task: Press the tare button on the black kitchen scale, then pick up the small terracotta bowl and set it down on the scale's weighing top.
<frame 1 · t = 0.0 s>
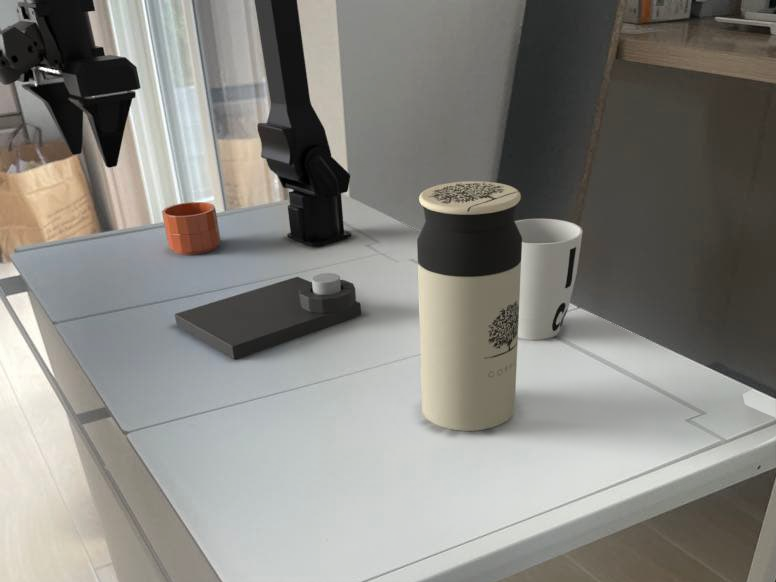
hand: (93, 160, 91), 15 cm above the table, tool pointing down, fingers open, 9 cm apart
scale: (269, 320, 91), on the table
tare button: (326, 284, 89), point 3 cm above the table, slide at 0.1 cm
cup: (533, 331, 86), on the table
travel mug: (468, 413, 73), on the table
bowl: (195, 247, 112), on the table
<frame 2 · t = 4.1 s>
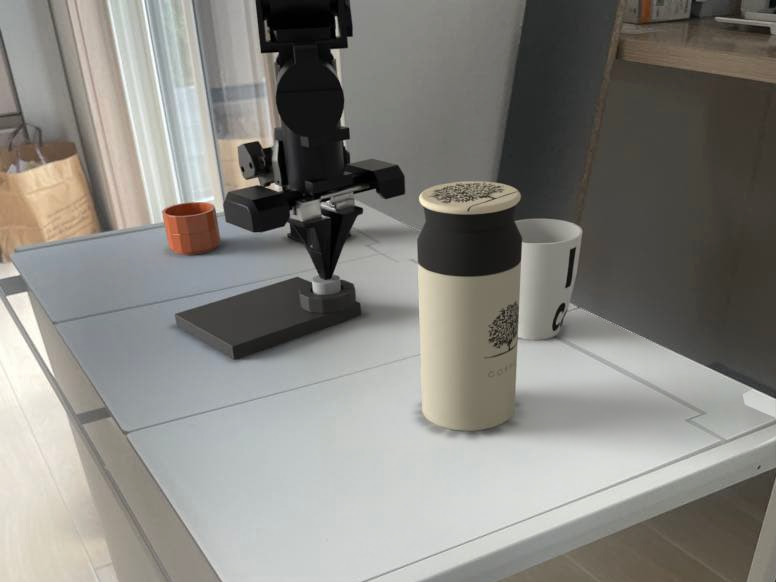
hand: (325, 278, 89), 4 cm above the table, tool pointing down, fingers closed, pressing on tare button
tare button: (326, 285, 89), point 3 cm above the table, slide at 0.0 cm, touching gripper
everything else where it was.
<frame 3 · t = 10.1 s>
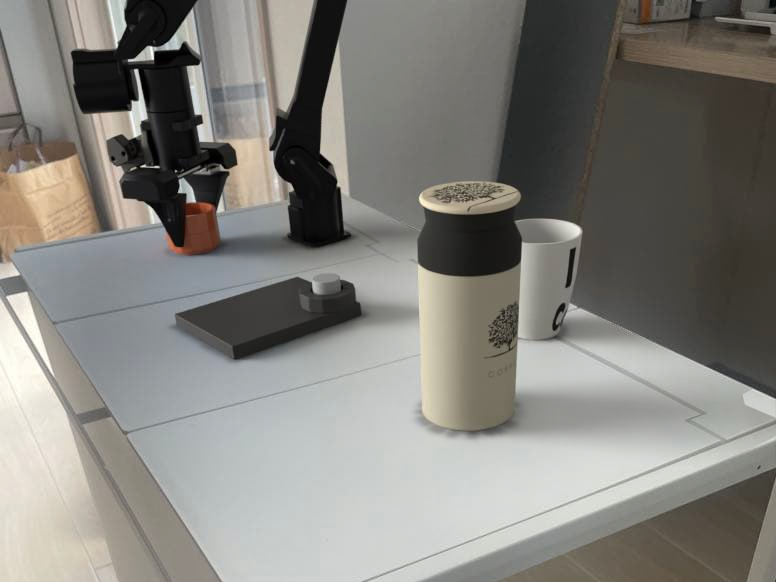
hand: (194, 238, 112), 1 cm above the table, tool pointing down, fingers closed on bowl, 7 cm apart
tare button: (326, 284, 89), point 3 cm above the table, slide at 0.1 cm
bowl: (195, 247, 112), on the table, touching gripper
everything else where it was.
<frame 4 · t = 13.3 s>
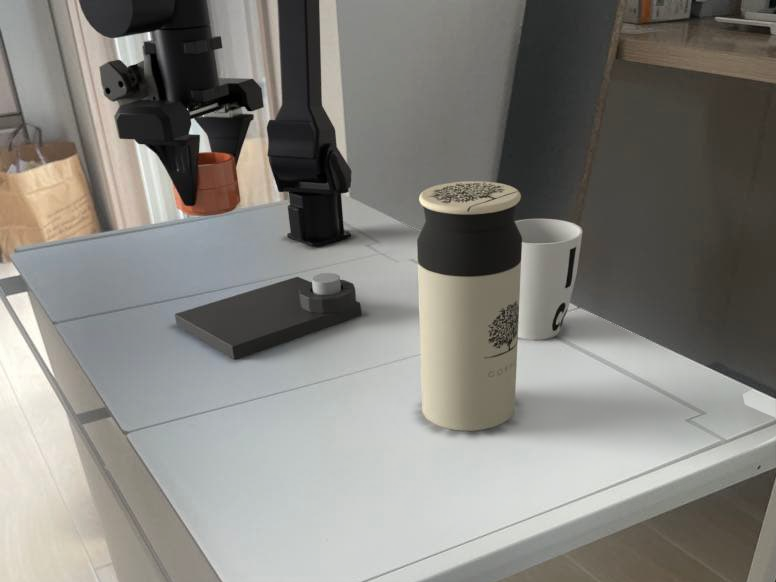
hand: (208, 196, 90), 11 cm above the table, tool pointing down, fingers closed on bowl, 7 cm apart
bowl: (209, 208, 91), point 10 cm above the table, touching gripper
everything else where it was.
when the fingers open (3 cm above the table, at t = 16.6 s): bowl stays where it is, resting on scale.
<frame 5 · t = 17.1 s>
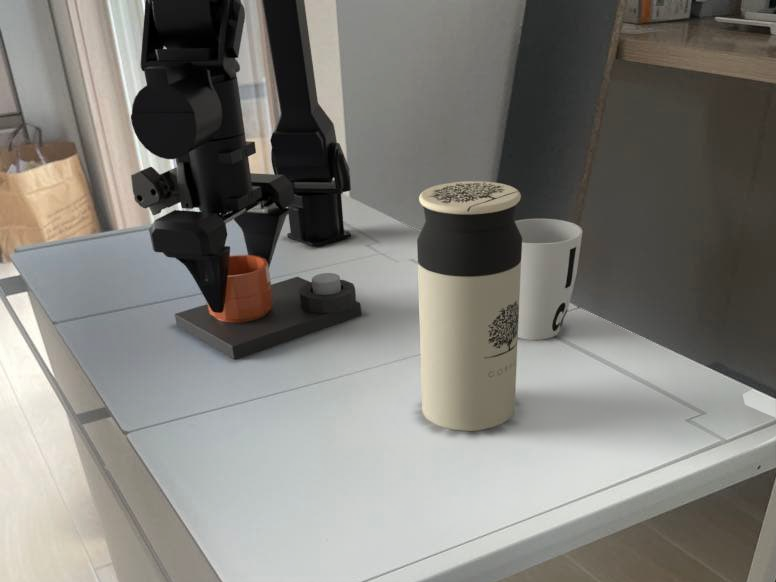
hand: (239, 296, 88), 3 cm above the table, tool pointing down, fingers open, 9 cm apart
bowl: (241, 312, 89), point 1 cm above the table, touching scale
everything else where it was.
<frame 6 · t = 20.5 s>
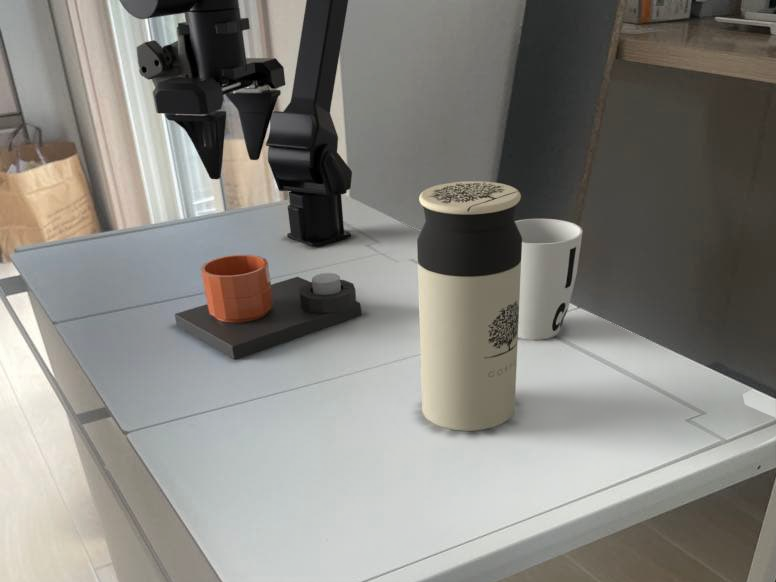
hand: (235, 169, 96), 12 cm above the table, tool pointing down, fingers open, 9 cm apart
nothing on the table moved.
at the end: tare button pushed in 0.9 cm at the most during the clip, back to where it started at the end; bowl inside the target area on the scale (1.7 cm from its centre), point 1.4 cm above the scale's base; bowl tilted 0° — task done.
